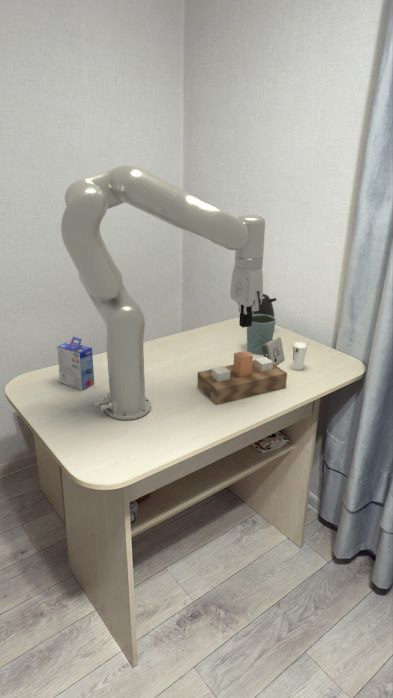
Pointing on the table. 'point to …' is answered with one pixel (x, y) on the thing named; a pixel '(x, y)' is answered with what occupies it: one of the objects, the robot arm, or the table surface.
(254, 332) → the teal plant pot
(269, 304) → the pump dispenser
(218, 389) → the socket board
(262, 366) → the grey peg right
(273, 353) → the electrical switch
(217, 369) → the grey peg left
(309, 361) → the table surface
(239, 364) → the terracotta peg
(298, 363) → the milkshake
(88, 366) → the ink cartridge box
